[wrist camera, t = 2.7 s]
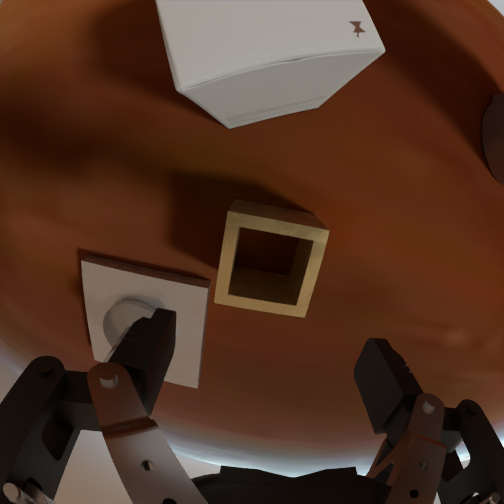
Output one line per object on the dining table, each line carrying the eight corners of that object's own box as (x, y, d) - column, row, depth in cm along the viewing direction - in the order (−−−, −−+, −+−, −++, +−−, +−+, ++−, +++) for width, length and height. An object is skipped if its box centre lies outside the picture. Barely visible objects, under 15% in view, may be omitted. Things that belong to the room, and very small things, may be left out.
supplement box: (292, 28, 16) (320, -74, 4) (320, 109, 18) (394, 56, 7) (201, 49, 17) (142, -41, 5) (224, 131, 19) (174, 96, 7)
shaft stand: (89, 254, 23) (45, 286, 16) (211, 280, 23) (193, 327, 17) (100, 351, 27) (72, 391, 20) (199, 378, 27) (187, 429, 21)
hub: (235, 198, 21) (227, 211, 16) (314, 214, 21) (329, 230, 16) (223, 272, 23) (214, 302, 18) (296, 285, 23) (304, 317, 18)
